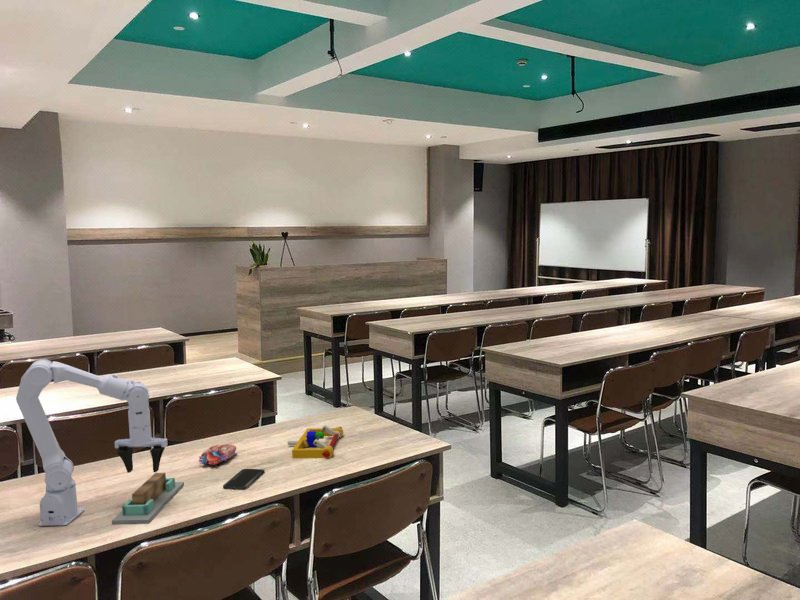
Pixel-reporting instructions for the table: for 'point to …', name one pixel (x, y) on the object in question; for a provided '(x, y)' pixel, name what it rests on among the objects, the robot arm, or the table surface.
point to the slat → (150, 489)
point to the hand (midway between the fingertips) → (143, 471)
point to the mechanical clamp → (315, 443)
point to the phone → (244, 479)
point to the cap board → (147, 506)
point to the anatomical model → (217, 454)
